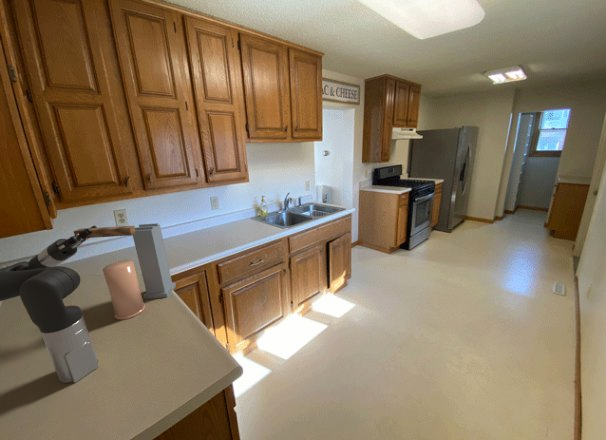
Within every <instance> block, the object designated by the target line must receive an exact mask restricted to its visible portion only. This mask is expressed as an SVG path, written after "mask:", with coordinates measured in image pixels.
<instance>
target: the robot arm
mask: <svg viewBox="0 0 606 440" xmlns="http://www.w3.org/2000/svg"><path fill="white" fill-rule="evenodd" d="M86 228H87V227H86ZM89 228H98V227H97V226H96V225H92V226H90V227H88V228H87V229H85V230H84V231H82V232H81V233H79V234H76V235H72V236H70V237H69V238H59V239H57V240H55V241H54V242H52V243H51V244H49V245H48V246H47V247H45V248H43V250H42V251H40V252H39V253H38V254H36V255H35V256H32V258H30V259H29V261H27V260H23V261H19V262H16V263H13V264H12V265H11V264H10V265H7V266H6V267H2V268H0V302H3V301H7V300H9V299H14V298H17V297H20V300H21V302H22V303H23V306H24V309H25V310H26V312H27V314H28V316H29V319H30V320H31V321H32V323H33V324H34V325H35V326H36V327H37V328H38V329H39V332H40V334H41V337H42V340H43V342H44V346H45V347H46V350H47V352H48V355H49V358H50V361H51V362H52V363H51V364H53V365H52V366H53V367H54V370H55V373H56V375H57V377H58V381H59V382H61V383H65V384H66V383H68V384H69V383H77V382H79V381H80V380H81V379H83V378H84V377H86V376H88V375H89V374H90V373H92V372H93V371H95V370H96V369H98V368H99V364H98V363H99V360H98V357H97V354H96V351H95V348H94V345H93V342H92V340H91V336H90V333H89V330H88V326H87V324H86V321H85V317H84V315H83V311H82V308H80V306H79V305H65V303H64V301H63V300H64V299H65V298H67V297H68V296H70V295H71V294H72V293H73V292H75V291H76V290H77V289H78V287H79V286H80V284H81V277H80V274H79V273H78V272H77V271H76V270H74V269H72V268H70V267H67V266H61V264H63V263H64V262H65V261H67V260H68V259H69V258H71V257H72V256H74V255H76V254H77V252H78V247H80V246H82V244H83V243H85V242H86V241H88V240H89V239H90V238H85V237H87V236H88V235H90V234H91V233H92V231H91V230H90V229H89Z"/></svg>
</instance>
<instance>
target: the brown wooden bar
mask: <svg viewBox="0 0 606 440" xmlns="http://www.w3.org/2000/svg"><path fill="white" fill-rule="evenodd" d="M88 228H89V229H90V230H91V231H92V233H91V234H90V235H88V236H87V237H85V238H89V239H94V238H110V237H111V238H112V237H126V236H133V234H135V233H136V231H135V225H120V226H103V227H97V228H91V227H88ZM85 229H87V227H86V228H78V229H76V230H73V236H75V235H76V234H79V233H81V232H82V231H84V230H85Z"/></svg>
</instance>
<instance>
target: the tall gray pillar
mask: <svg viewBox="0 0 606 440" xmlns="http://www.w3.org/2000/svg"><path fill="white" fill-rule="evenodd" d="M134 227H135V226H134ZM161 227H162V226H161V224H159V223H144V224H141V223H140V224H138V226H136V227H135V231H136V233H135V234H133V235H132V239H133V242H134V246H135V251H136V255H137V259H138V263H139V268H140V271H141V276H142V279H143V280H142V281H143V283H144V288H145V291H146V292H145V293H144V294H143V295H142V297H143V298H144V299H143V300H149V299H150V300H152V299H163V298H168V297H169V296H170V294H171V293H172V292H173V290H174V289H175V288H176V286H177V285H176V281H174V282H173V280H172V276H171V270H170V267H169V261H168V257H167V252H166V251H167V250H166V247H165V243H164V239H163V238H164V237H163V233H162V228H161Z"/></svg>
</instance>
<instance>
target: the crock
mask: <svg viewBox="0 0 606 440" xmlns="http://www.w3.org/2000/svg"><path fill="white" fill-rule="evenodd" d="M102 272H103V275H104V279H105V283H106V286H107V289H108V293H109V296H110V300H111V303H112V308H113V311H114V317H115V319H116V320H120V321H123V320H124V321H125V320H129V319H133V318H135V317H137V316H139V315H141V314H142V313H144V311H145V310H146V304H145V302H144V299H143V295H142V292H141V291H142V290H141V287H140V283H139V280H138V275H137V272H136V268H135V262H134V261H133V260H128V259H127V260H120V261H119V260H118V261H116V262H112V263H109V264H107V265H106V266H104V267H103V268H102Z"/></svg>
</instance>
